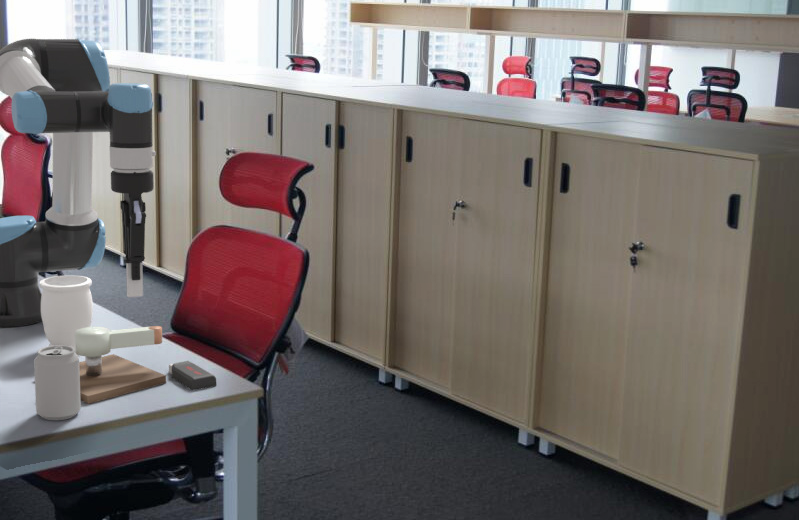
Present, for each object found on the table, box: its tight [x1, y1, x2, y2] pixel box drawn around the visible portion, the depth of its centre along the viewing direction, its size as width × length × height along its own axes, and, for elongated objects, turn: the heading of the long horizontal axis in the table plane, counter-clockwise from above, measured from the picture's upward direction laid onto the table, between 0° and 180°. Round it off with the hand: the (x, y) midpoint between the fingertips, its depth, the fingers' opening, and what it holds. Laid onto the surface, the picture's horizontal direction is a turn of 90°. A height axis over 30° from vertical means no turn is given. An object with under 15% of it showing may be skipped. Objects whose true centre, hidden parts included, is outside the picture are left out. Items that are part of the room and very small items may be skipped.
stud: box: [84, 355, 103, 376], centre depth 202 cm, size 3×3×4 cm
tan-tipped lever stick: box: [75, 325, 163, 357], centre depth 204 cm, size 16×6×4 cm, turn 117°
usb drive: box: [168, 360, 217, 391], centre depth 206 cm, size 5×12×3 cm, turn 38°
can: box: [33, 345, 82, 421], centre depth 184 cm, size 8×8×12 cm
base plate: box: [79, 353, 167, 405], centre depth 203 cm, size 18×17×2 cm
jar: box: [39, 275, 94, 353], centre depth 220 cm, size 11×10×15 cm
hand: (135, 295), depth 195 cm, fingers closed
